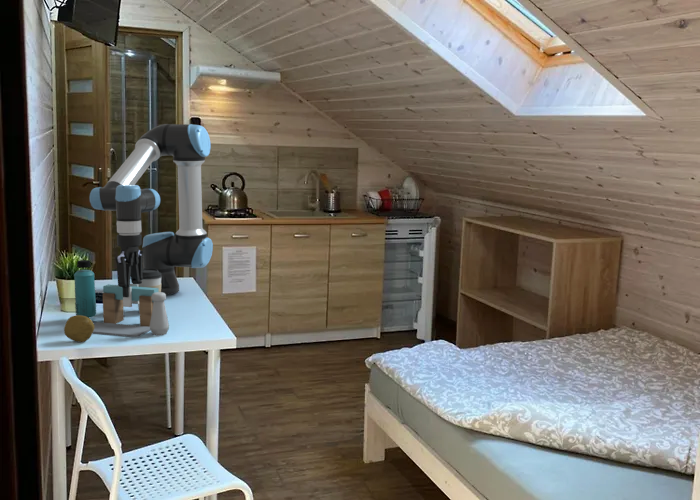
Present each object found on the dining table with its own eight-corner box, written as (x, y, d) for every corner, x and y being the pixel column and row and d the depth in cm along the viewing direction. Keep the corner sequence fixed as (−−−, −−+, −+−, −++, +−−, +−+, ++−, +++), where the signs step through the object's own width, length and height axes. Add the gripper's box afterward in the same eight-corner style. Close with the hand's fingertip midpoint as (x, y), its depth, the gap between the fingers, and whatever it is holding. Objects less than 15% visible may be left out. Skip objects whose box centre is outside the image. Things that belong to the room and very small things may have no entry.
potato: (63, 340, 209) (61, 314, 208) (89, 336, 213) (88, 311, 212) (68, 346, 203) (67, 319, 202) (96, 342, 208) (95, 316, 206)
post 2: (148, 322, 231) (147, 292, 229) (159, 323, 230) (158, 293, 229) (140, 326, 226) (139, 296, 224) (151, 327, 225) (150, 296, 223)
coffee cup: (155, 316, 239) (154, 272, 237) (130, 314, 241) (129, 271, 238) (167, 309, 248) (166, 268, 245) (143, 308, 250) (142, 266, 247)
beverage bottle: (101, 319, 233) (98, 260, 230) (84, 323, 227) (82, 262, 224) (87, 316, 236) (85, 257, 233) (71, 320, 231) (68, 260, 228)
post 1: (112, 319, 234) (111, 289, 232) (123, 320, 233) (122, 290, 231) (103, 323, 229) (102, 293, 227) (114, 324, 228) (113, 294, 226)
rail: (108, 296, 232) (108, 284, 231) (158, 300, 228) (158, 288, 227) (103, 298, 229) (103, 286, 228) (154, 302, 225) (153, 290, 224)
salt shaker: (146, 333, 218) (145, 292, 216) (162, 330, 222) (162, 289, 220) (155, 337, 214) (154, 295, 212) (172, 334, 218) (171, 293, 216)
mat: (97, 323, 228) (97, 322, 228) (153, 328, 223) (153, 327, 223) (78, 331, 218) (78, 330, 218) (137, 337, 214) (137, 335, 214)
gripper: (132, 229, 234) (134, 298, 237) (103, 236, 217) (106, 310, 221) (153, 230, 232) (154, 300, 236) (125, 237, 216) (128, 312, 219)
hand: (131, 304), depth 228 cm, fingers open, 4 cm apart
